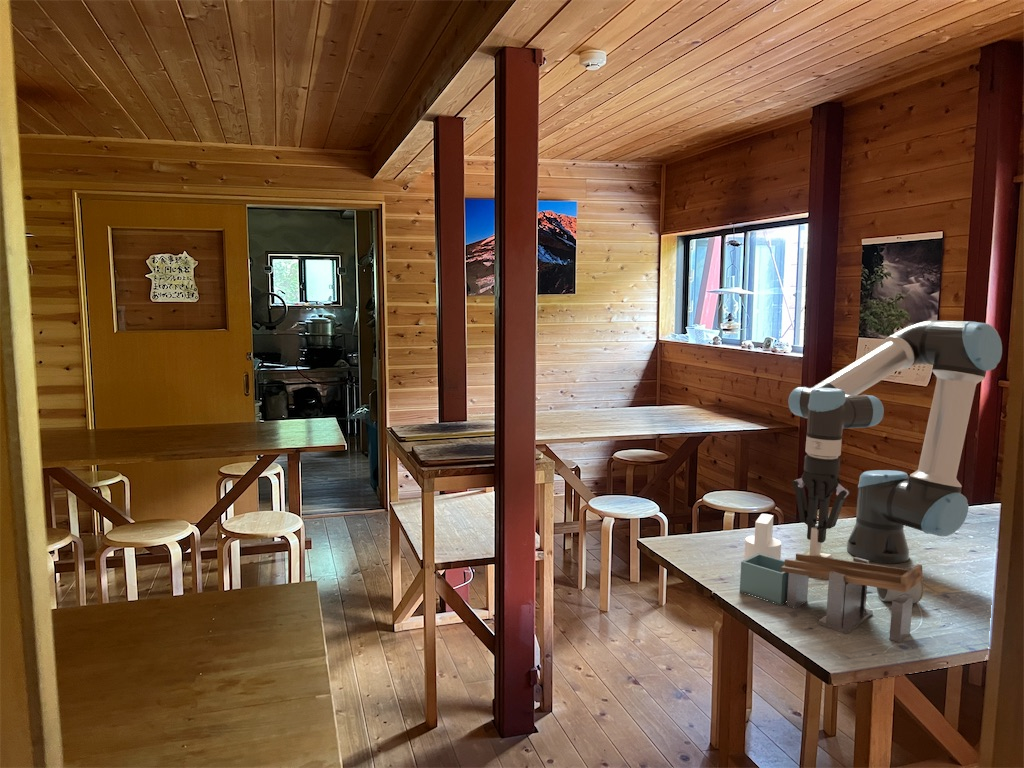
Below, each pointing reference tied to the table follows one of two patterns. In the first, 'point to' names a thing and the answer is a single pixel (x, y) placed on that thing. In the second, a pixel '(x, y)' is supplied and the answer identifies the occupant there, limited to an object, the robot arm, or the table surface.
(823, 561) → the wooden ramp track
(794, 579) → the support blocks
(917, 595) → the ceramic mug
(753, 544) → the cylinder with rectangular tab
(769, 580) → the open box
